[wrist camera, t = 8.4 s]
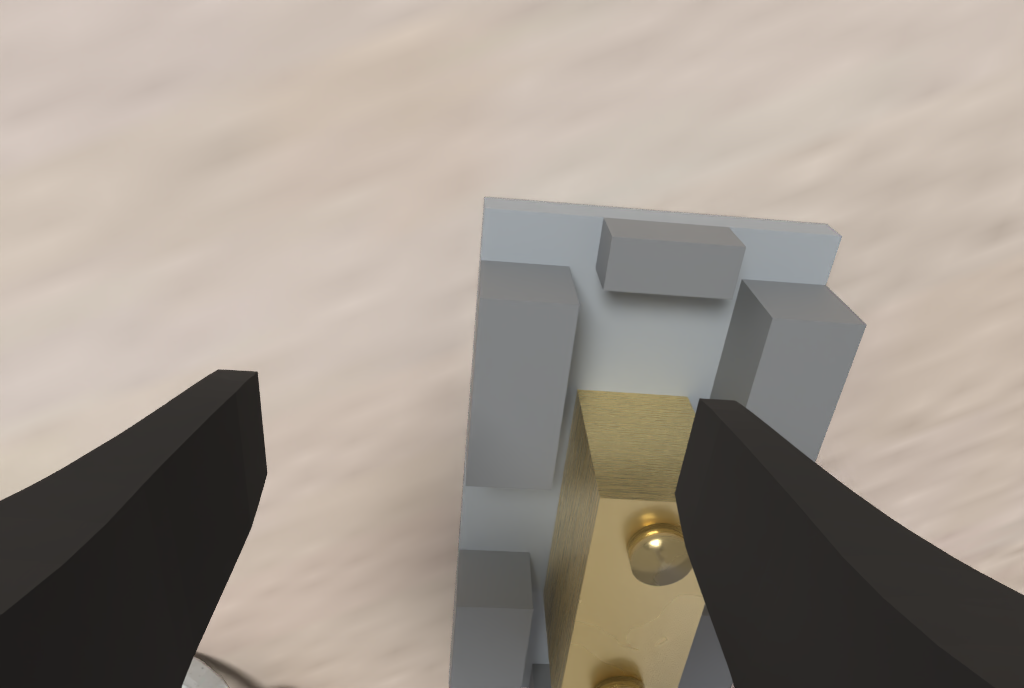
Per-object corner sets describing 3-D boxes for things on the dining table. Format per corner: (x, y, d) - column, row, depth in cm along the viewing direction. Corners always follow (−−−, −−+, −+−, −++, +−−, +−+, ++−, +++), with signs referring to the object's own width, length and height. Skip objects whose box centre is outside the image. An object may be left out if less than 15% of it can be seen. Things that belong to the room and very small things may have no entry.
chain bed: (826, 224, 21) (886, 271, 17) (684, 670, 30) (706, 752, 27) (484, 196, 20) (484, 240, 17) (449, 663, 29) (445, 745, 26)
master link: (687, 396, 22) (745, 522, 17) (635, 597, 26) (669, 744, 22) (577, 389, 22) (603, 514, 17) (542, 593, 26) (556, 740, 21)
